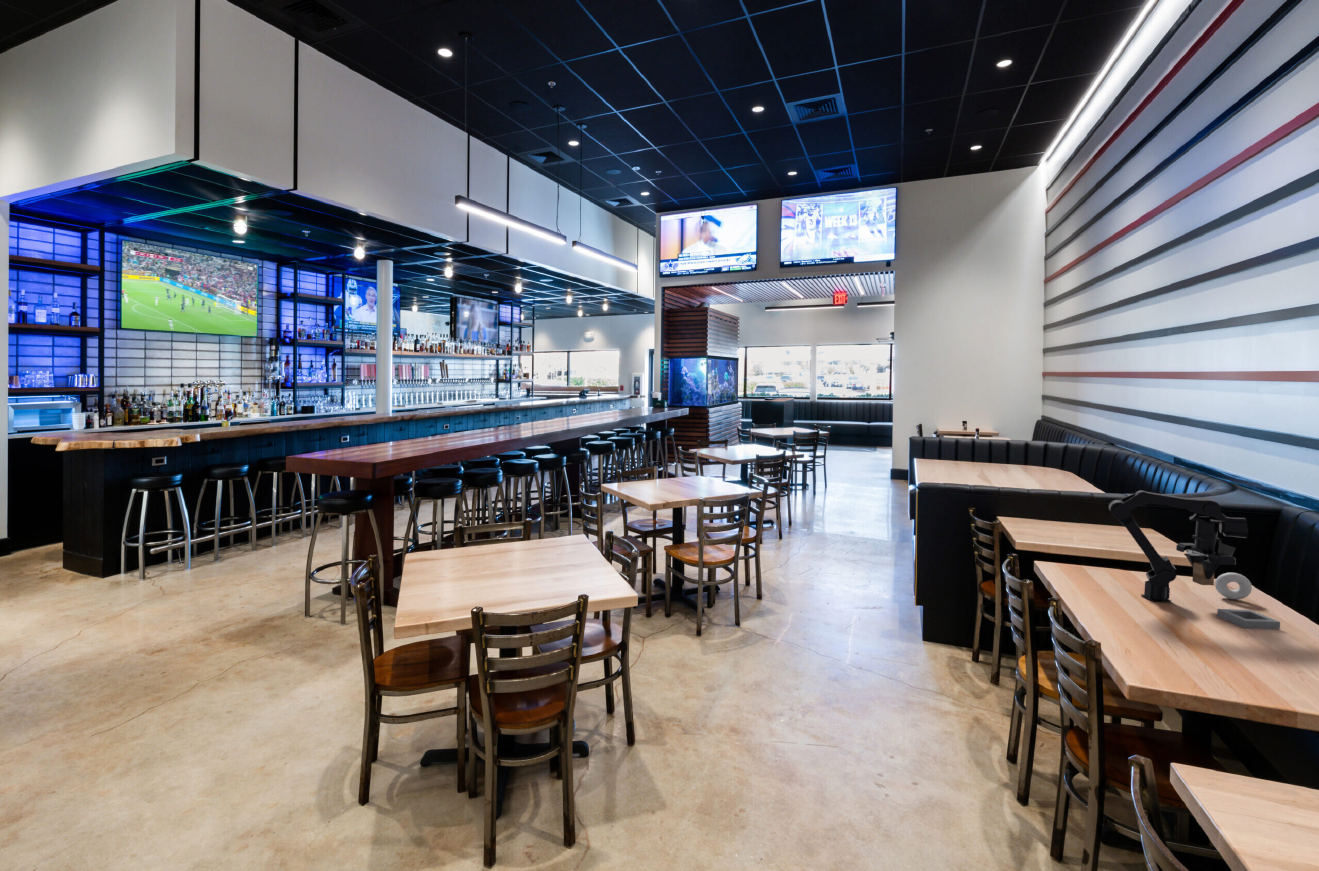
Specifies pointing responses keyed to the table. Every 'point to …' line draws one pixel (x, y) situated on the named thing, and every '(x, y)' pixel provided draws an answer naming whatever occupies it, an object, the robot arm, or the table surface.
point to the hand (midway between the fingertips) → (1203, 577)
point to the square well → (1248, 619)
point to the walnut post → (1201, 575)
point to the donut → (1233, 594)
